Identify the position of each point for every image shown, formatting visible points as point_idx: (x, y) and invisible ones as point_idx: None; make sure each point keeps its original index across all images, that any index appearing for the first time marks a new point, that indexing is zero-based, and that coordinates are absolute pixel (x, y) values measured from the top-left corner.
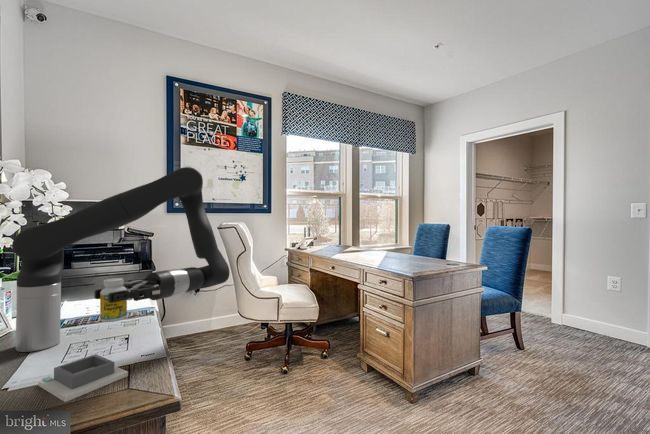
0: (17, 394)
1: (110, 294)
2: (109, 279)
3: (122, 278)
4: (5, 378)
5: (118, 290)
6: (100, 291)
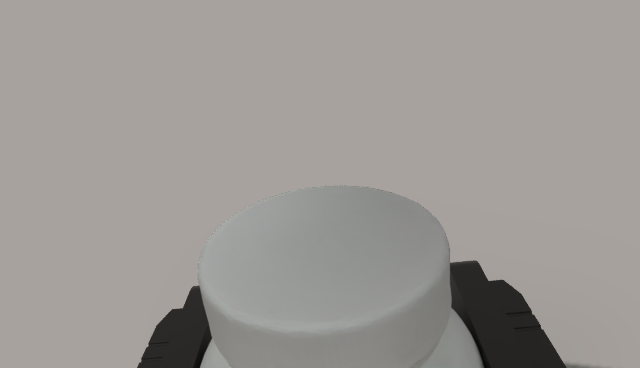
0: None
1: (197, 288)
2: (379, 219)
3: (286, 321)
4: (581, 365)
5: (208, 346)
6: (456, 298)
